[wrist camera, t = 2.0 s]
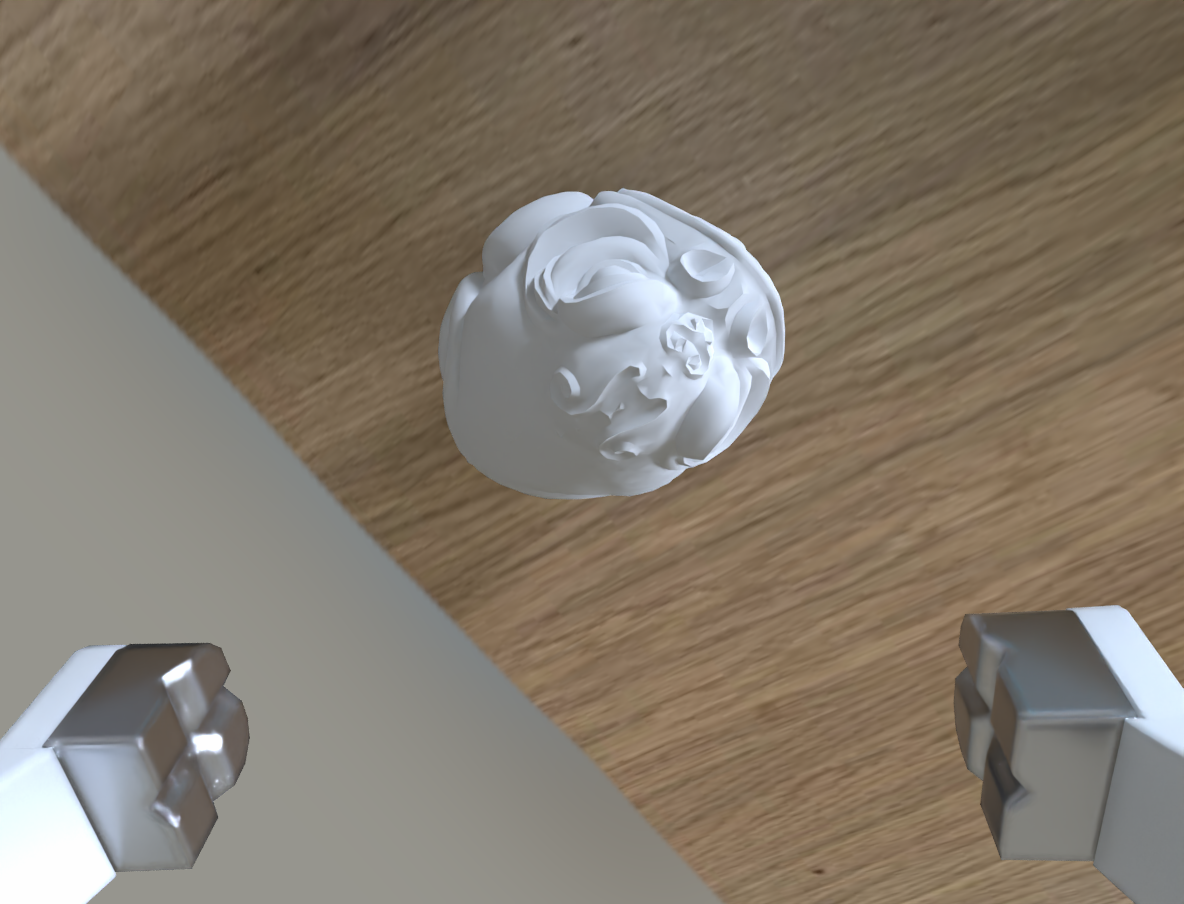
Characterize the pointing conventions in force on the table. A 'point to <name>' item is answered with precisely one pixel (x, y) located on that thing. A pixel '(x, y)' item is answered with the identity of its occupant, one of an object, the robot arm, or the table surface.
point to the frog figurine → (606, 346)
